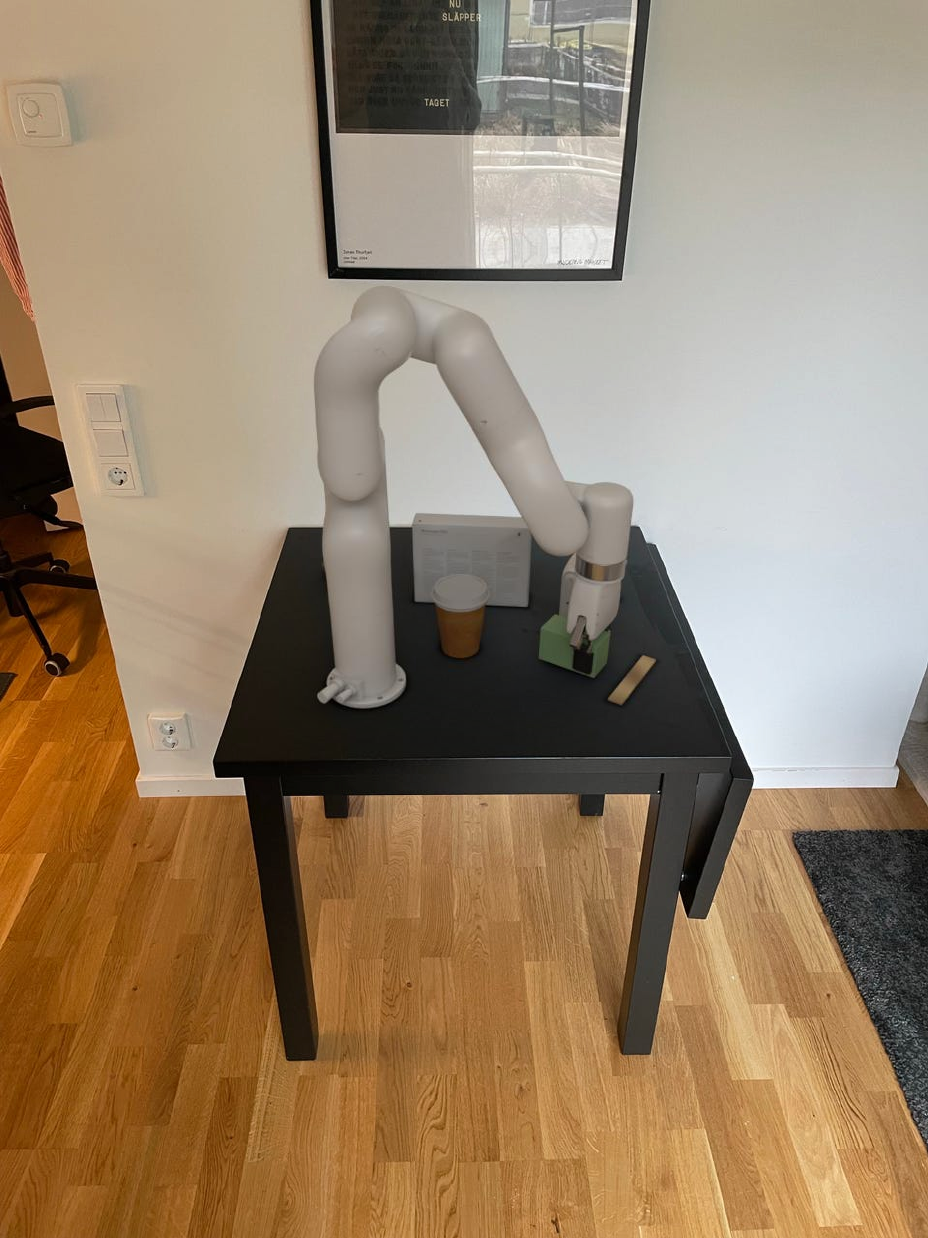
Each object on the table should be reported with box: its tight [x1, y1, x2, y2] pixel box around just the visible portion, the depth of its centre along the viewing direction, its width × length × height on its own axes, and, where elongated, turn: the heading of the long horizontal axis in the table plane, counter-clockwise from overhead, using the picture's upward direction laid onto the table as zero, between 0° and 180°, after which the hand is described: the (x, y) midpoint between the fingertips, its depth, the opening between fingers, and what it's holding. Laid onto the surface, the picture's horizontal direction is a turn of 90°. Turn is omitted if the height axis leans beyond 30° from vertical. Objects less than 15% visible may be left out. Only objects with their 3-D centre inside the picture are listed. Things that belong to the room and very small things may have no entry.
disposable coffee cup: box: [431, 574, 489, 659], centre depth 150 cm, size 10×10×12 cm
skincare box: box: [411, 512, 532, 608], centre depth 163 cm, size 21×5×16 cm, turn 84°
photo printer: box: [558, 552, 577, 618], centre depth 159 cm, size 10×4×12 cm, turn 156°
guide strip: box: [607, 655, 657, 706], centre depth 146 cm, size 14×2×1 cm, turn 148°
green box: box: [538, 614, 611, 679], centre depth 146 cm, size 5×10×6 cm, turn 58°
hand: (589, 661), depth 146 cm, fingers closed on green box, 5 cm apart
